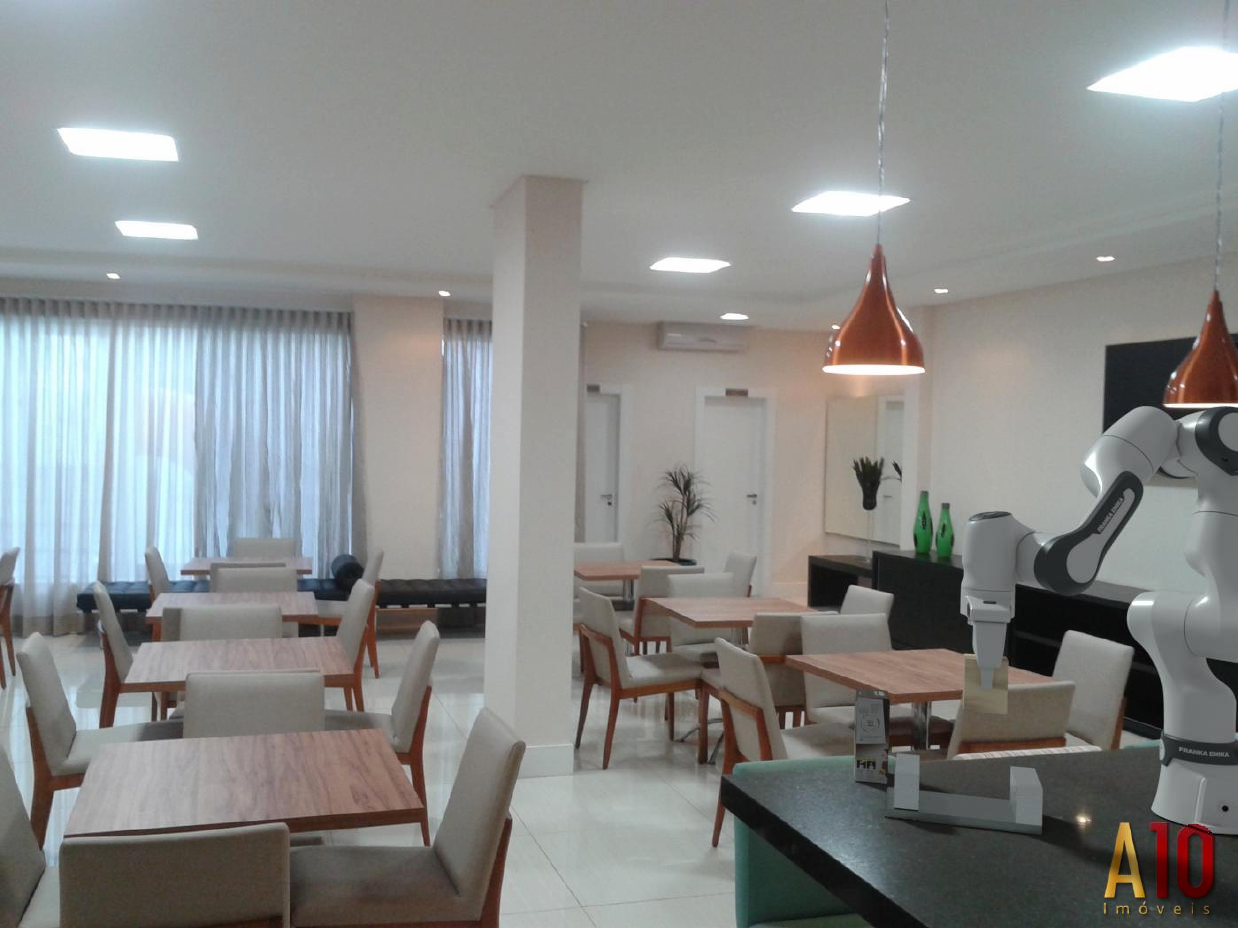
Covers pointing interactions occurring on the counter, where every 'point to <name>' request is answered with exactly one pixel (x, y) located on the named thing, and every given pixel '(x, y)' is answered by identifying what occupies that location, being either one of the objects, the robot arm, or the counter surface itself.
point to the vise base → (981, 806)
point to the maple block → (984, 699)
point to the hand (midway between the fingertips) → (985, 685)
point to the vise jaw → (906, 781)
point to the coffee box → (871, 735)
